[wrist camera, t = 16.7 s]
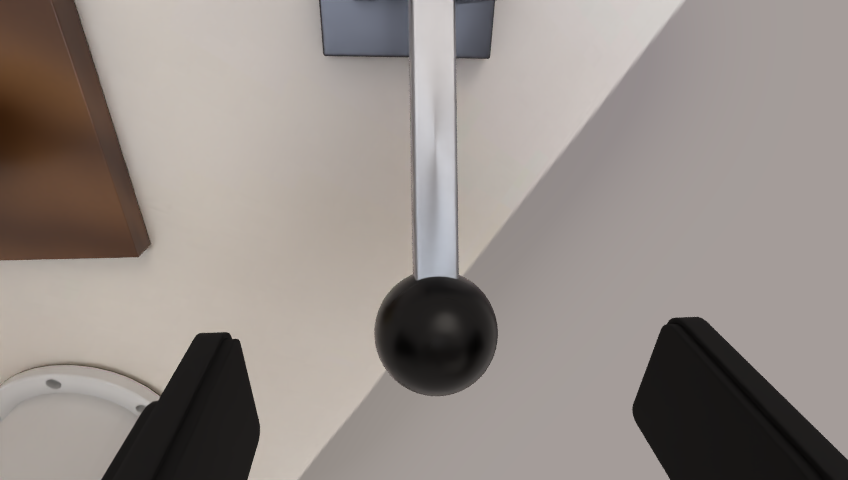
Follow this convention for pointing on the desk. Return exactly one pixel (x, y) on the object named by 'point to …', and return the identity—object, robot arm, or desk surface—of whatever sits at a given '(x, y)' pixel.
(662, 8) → the desk surface
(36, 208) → the board
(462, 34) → the lever stand
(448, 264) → the lever
